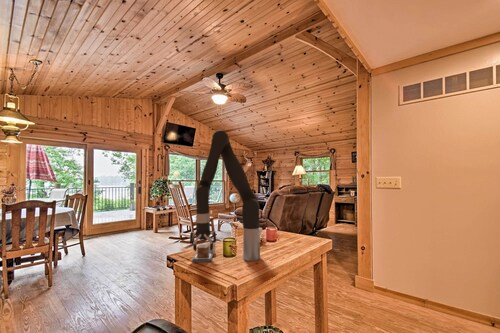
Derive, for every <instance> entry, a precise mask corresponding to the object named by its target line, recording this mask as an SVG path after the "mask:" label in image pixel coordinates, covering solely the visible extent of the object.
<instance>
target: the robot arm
mask: <svg viewBox="0 0 500 333" xmlns="http://www.w3.org/2000/svg"><path fill="white" fill-rule="evenodd" d="M211 138H212V139H211V144H210V150H209V153H208V156H207V159H206V162H205V163H204V164H205V165H204V167H203V170H202V174H201V176H200V181H199V183H198V186H197V188H196V191H195V197H196V198H195V199H196V207H195V209H196V214H195V215H196V217H195V225H196V226H195V229H196V230H195V232H194V231H190V233H189V243H190V244H191V245H193V246H192V247H193V251H194V252H197V247H198V246H197V244H198V243H197V242H198V241H199V240H200V241H203V240H204V241H208V242H209V243H210V251H212V249H213V243H215V244H216V243H217V235H216V233H217V232H216V230H214V231H211V221H210V219H211V217H210V215H211V214H210V204H209V203H210V201H209V200H210V189H211V187H212V183H213V182H214V179H215V176H216V173H217V170H218V166H219V161H220V159H221V158H222V161H223V164H224V168H225V171H226V174H227V176H228V178H229V179H230V182H231V183H232V185H233V187H234V188H235V189H236V191H237V192H238V195H239V196H240V199H241V201H242V208H241V210H242V211H241V213H242V218H241V219H242V244H243V245H242V246H243V247H242V253H243V254H242V257H243V260H245V261H248V262H256V261H260V260H261V242H260V228H261V226H260V224H261V223H260V208H261V207H260V203H259V201H258V199H257V197H256V195H255V194H254V192H253V190H252V188H251V185H250V183H249V180H248V177H247V174H246V173H245V170H244V168H243V166H242V163H241V162H240V160H239V159H238V157H237V155H236V154H235V152H234V150H233V147H232V144H231V141H230V138H229V135H228V134H227V131H225V130H222V129H218V130H216V131H214V132H213V134H212V137H211ZM220 157H221V158H220ZM194 236H196V239H194ZM211 236H212V237H213V238H212V237H211Z"/></svg>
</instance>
